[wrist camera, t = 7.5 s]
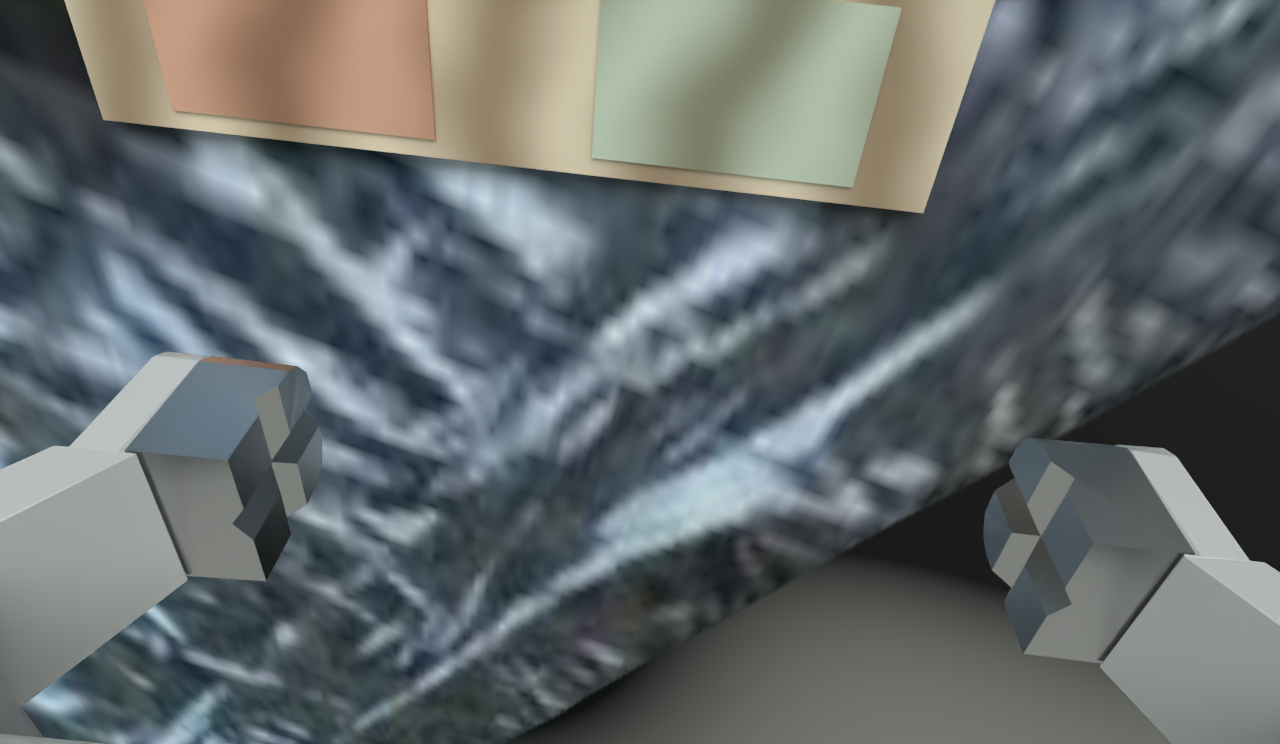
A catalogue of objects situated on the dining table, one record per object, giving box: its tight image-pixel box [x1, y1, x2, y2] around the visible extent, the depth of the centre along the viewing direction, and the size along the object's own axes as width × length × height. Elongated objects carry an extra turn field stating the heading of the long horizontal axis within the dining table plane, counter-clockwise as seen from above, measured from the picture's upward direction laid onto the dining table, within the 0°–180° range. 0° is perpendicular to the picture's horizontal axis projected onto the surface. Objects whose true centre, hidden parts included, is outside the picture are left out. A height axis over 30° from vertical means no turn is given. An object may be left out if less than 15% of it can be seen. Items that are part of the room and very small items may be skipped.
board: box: [64, 0, 995, 213], centre depth 29 cm, size 32×8×1 cm, turn 85°
